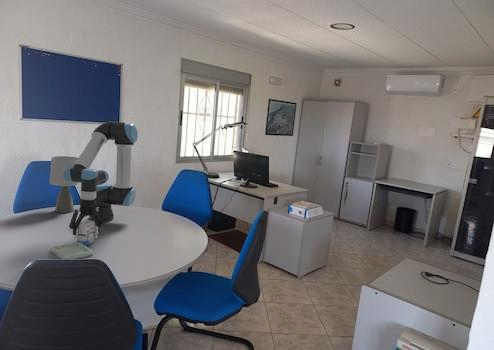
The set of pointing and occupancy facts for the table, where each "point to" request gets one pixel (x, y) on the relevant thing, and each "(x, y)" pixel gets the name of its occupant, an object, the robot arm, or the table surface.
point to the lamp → (62, 182)
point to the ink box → (86, 232)
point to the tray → (71, 251)
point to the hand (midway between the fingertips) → (85, 239)
